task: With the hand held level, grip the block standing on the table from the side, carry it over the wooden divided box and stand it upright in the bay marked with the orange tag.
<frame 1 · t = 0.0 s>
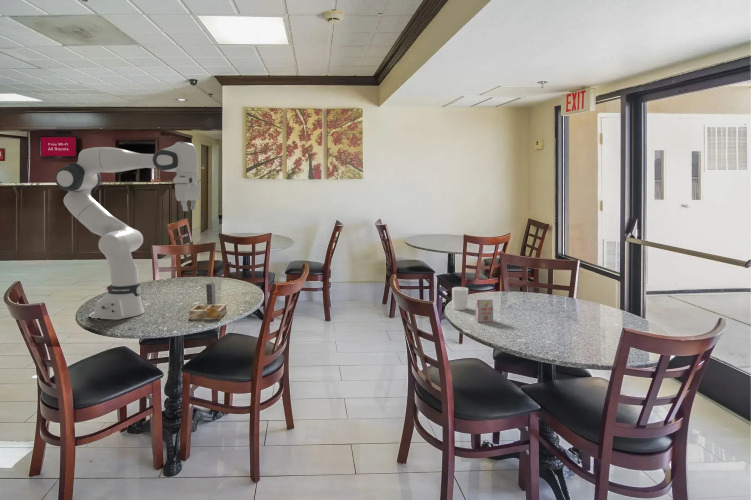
hand: (189, 210, 208), 48 cm above the table, tool pointing down, fingers open, 8 cm apart
tea bag: (483, 321, 207), on the table
wooden divided box: (208, 315, 212), on the table
white cup: (459, 308, 228), on the table
block: (211, 307, 226), on the table
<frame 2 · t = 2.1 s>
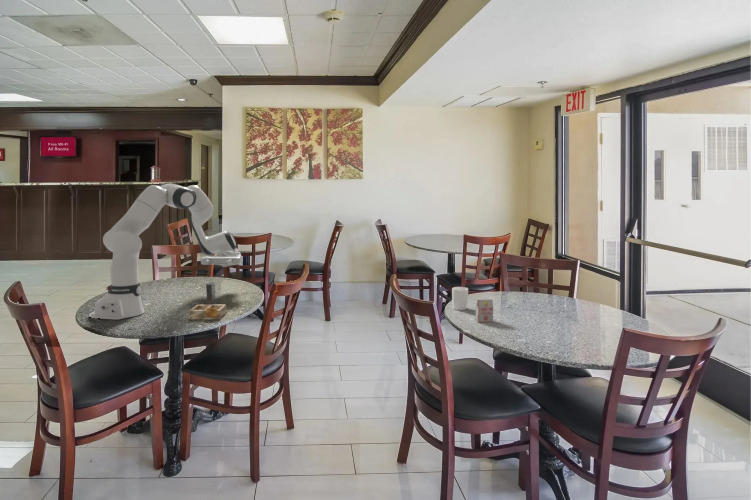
hand: (217, 263, 235), 20 cm above the table, tool horizontal, fingers open, 8 cm apart
nothing on the table moved.
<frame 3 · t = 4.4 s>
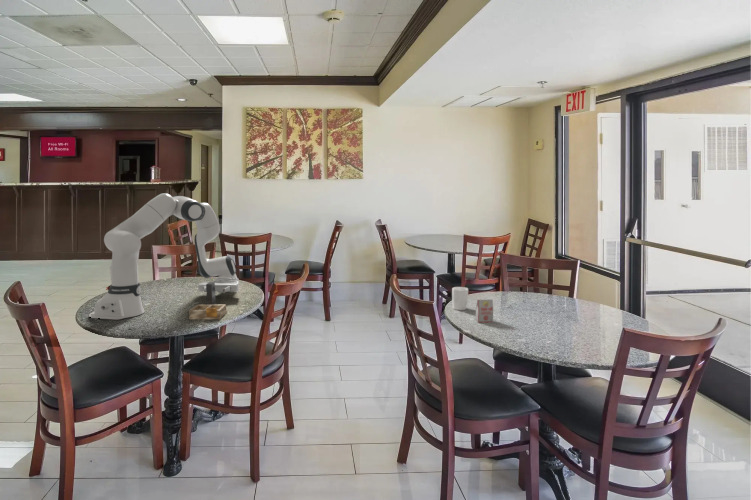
hand: (214, 290, 232), 7 cm above the table, tool horizontal, fingers open, 8 cm apart
nothing on the table moved.
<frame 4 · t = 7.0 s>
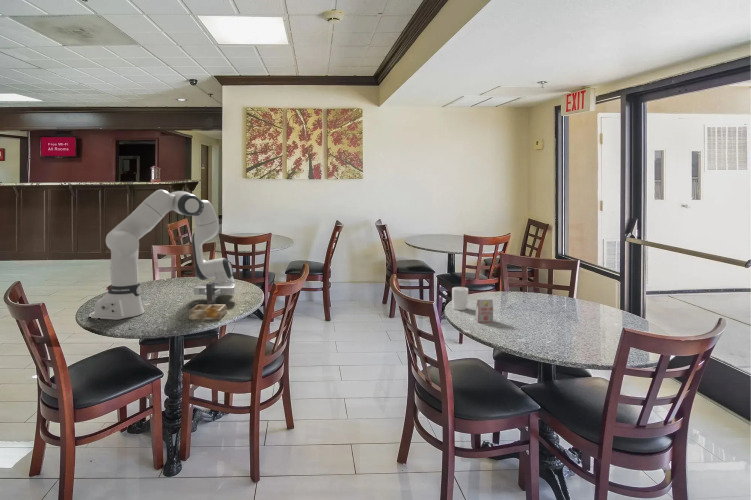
hand: (210, 293, 224), 7 cm above the table, tool horizontal, fingers closed on block, 2 cm apart
block: (211, 307, 226), on the table, touching gripper
everything else where it was.
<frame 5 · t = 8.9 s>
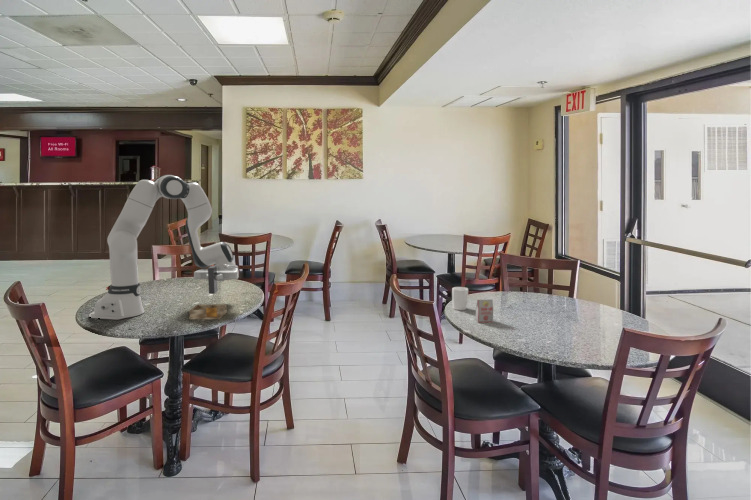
hand: (212, 277, 214), 17 cm above the table, tool horizontal, fingers closed on block, 2 cm apart
block: (213, 292, 216), point 10 cm above the table, touching gripper
everything else where it was.
when the fingers open (9 cm above the table, at t = 11.0 s): block drops 1 cm, resting on wooden divided box.
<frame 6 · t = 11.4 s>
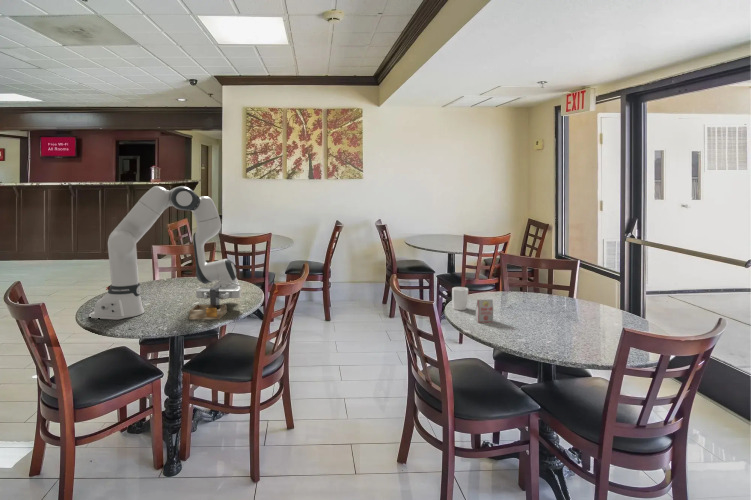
hand: (214, 297, 210), 9 cm above the table, tool horizontal, fingers open, 6 cm apart
block: (215, 313, 212), point 1 cm above the table, touching wooden divided box
everything else where it was.
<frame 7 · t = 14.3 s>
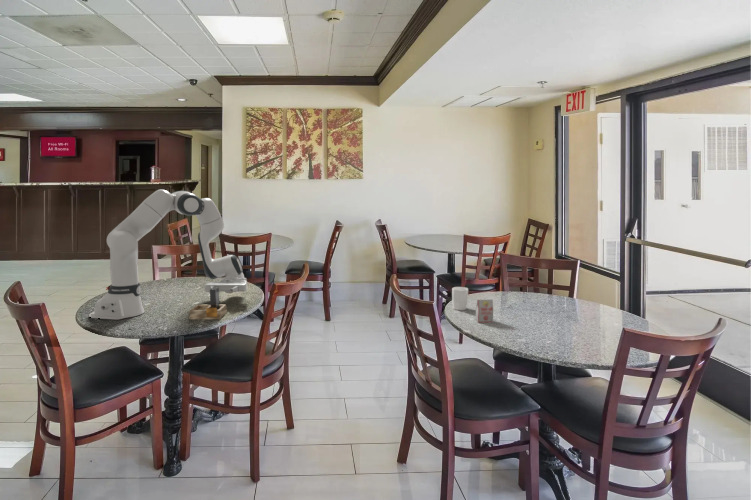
hand: (221, 290, 222), 9 cm above the table, tool horizontal, fingers open, 8 cm apart
nothing on the table moved.
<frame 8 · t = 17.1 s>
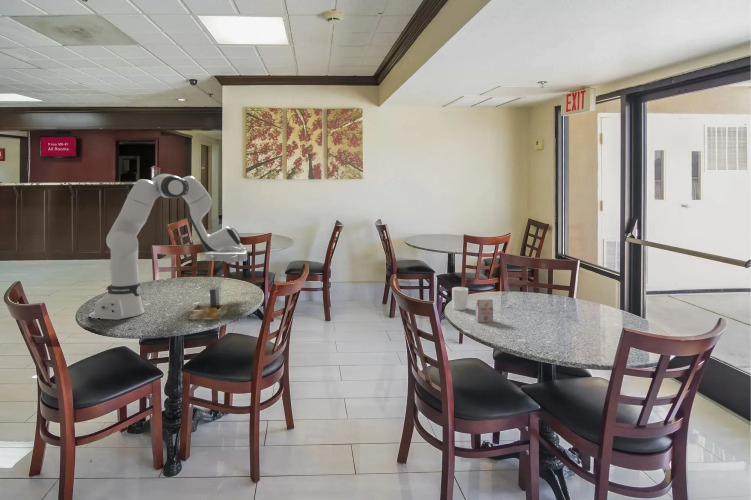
hand: (222, 258, 223), 24 cm above the table, tool horizontal, fingers open, 8 cm apart
nothing on the table moved.
at the end: block 0.0 cm from the target spot on the wooden divided box, point 0.8 cm above the wooden divided box's base; block tilted 0°; the gripper is holding nothing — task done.
